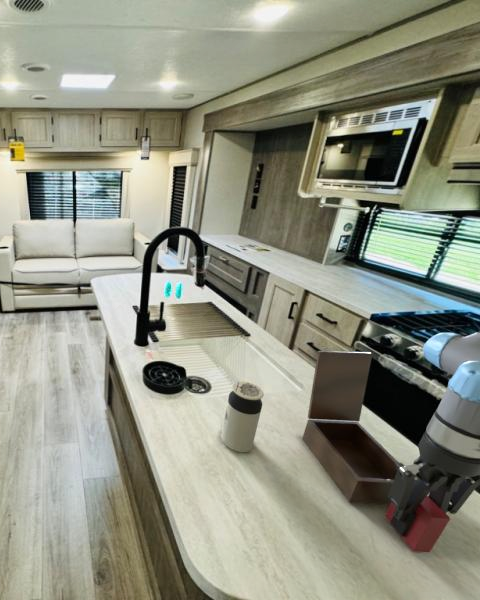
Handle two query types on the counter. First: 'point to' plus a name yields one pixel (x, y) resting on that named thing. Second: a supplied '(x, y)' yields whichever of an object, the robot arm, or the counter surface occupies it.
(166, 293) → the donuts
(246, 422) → the travel mug
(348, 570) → the counter surface
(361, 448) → the chest
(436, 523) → the red rectangular brick
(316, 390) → the lid
